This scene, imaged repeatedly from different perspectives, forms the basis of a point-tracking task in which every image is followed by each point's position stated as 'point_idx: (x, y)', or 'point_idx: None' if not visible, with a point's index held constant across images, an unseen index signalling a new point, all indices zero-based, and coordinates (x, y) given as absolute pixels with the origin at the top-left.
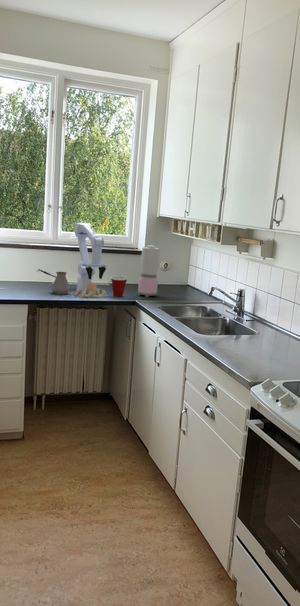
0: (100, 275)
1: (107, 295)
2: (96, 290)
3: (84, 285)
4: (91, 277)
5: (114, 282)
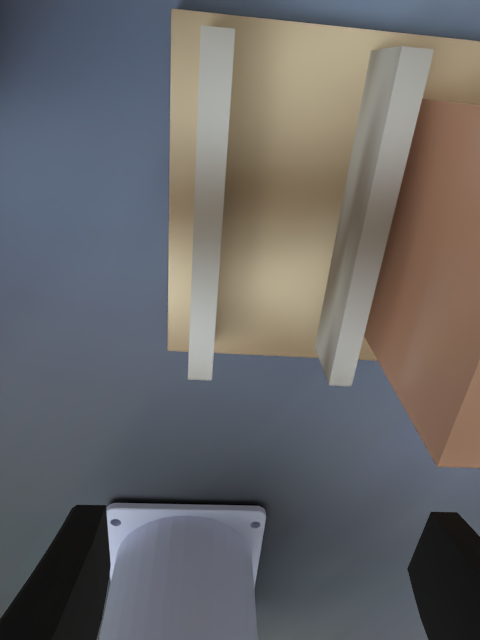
0: (75, 637)
1: (174, 11)
2: (384, 177)
3: (237, 580)
4: (464, 553)
5: None
